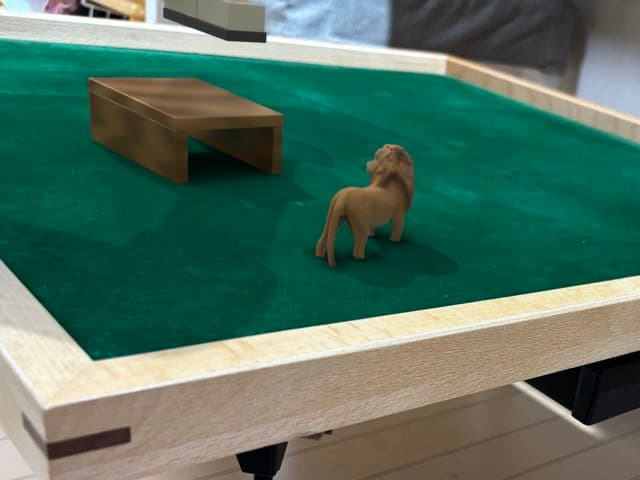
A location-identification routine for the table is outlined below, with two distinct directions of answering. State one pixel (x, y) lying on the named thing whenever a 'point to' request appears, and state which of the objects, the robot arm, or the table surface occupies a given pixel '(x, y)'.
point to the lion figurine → (372, 202)
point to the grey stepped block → (220, 18)
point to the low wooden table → (181, 123)
